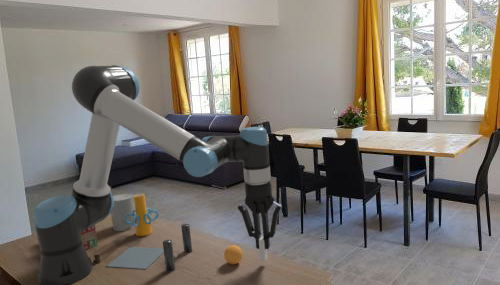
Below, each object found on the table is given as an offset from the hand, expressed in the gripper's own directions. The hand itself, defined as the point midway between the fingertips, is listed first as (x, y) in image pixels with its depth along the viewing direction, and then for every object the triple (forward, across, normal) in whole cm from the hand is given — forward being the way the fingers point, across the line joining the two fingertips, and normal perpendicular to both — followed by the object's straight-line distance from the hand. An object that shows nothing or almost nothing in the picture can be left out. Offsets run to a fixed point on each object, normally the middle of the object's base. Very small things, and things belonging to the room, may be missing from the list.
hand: (264, 258), depth 117 cm
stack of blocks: (+2, +74, -10) cm, 75 cm away
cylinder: (+2, +52, -19) cm, 55 cm away
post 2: (+2, +28, -6) cm, 28 cm away
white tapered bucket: (+2, +64, -25) cm, 68 cm away
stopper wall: (+2, +54, 0) cm, 55 cm away
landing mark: (+2, +42, 0) cm, 43 cm away
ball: (-1, +10, 0) cm, 10 cm away
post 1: (+2, +28, +6) cm, 28 cm away
